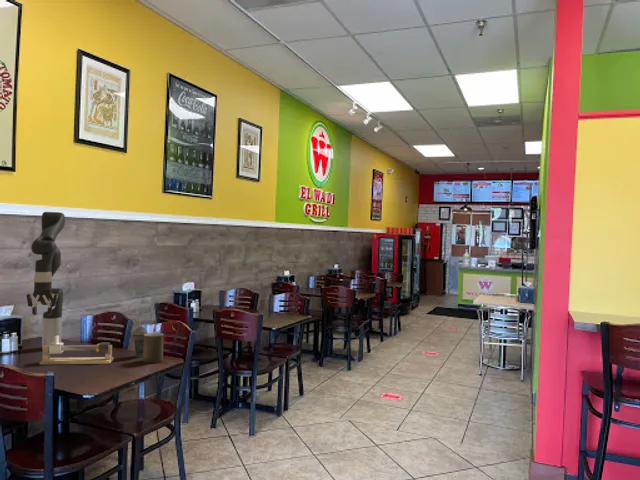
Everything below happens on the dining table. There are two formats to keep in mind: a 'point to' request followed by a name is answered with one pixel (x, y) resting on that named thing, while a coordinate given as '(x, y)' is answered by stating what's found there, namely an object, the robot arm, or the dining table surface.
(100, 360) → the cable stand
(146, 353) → the pillar candle
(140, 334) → the beverage cup
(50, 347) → the white slider block
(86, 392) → the dining table surface
